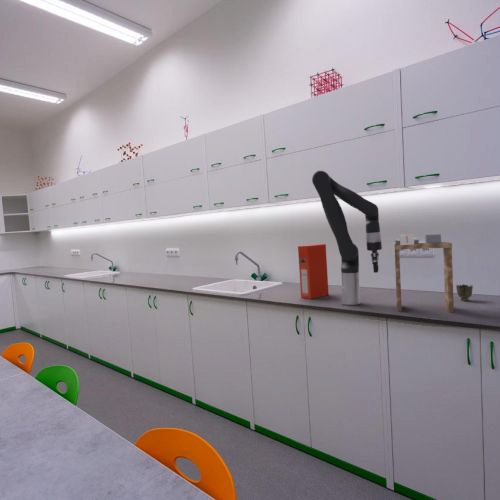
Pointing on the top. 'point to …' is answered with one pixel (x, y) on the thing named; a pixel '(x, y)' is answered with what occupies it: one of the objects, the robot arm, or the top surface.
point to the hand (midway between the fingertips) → (376, 271)
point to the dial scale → (407, 240)
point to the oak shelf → (447, 271)
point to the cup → (464, 292)
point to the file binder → (313, 271)
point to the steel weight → (432, 238)
